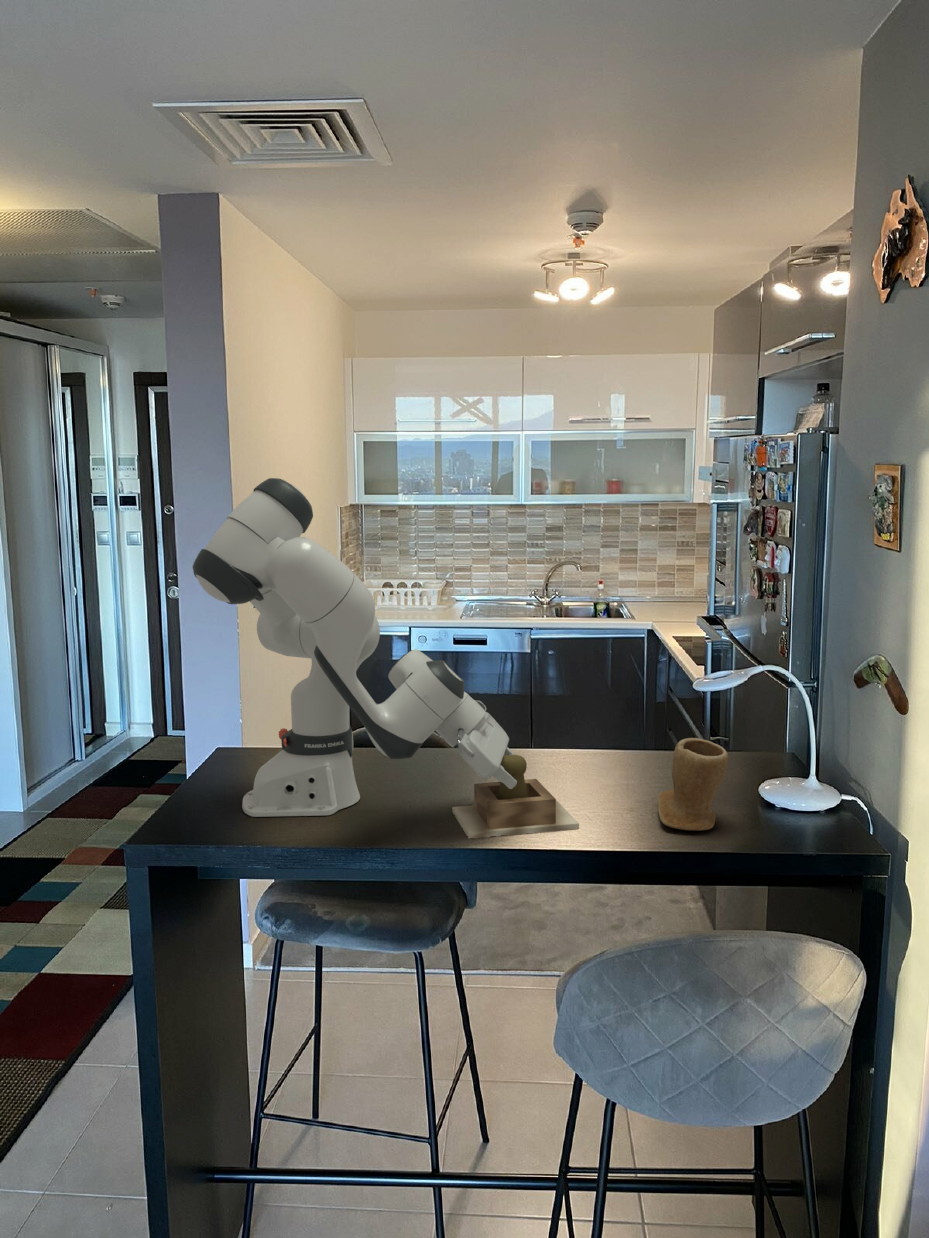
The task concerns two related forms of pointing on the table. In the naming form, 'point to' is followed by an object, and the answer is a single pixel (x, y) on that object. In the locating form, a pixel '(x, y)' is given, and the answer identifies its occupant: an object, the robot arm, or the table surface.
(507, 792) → the cork
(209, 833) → the table surface
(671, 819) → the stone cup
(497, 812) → the cruet stand
